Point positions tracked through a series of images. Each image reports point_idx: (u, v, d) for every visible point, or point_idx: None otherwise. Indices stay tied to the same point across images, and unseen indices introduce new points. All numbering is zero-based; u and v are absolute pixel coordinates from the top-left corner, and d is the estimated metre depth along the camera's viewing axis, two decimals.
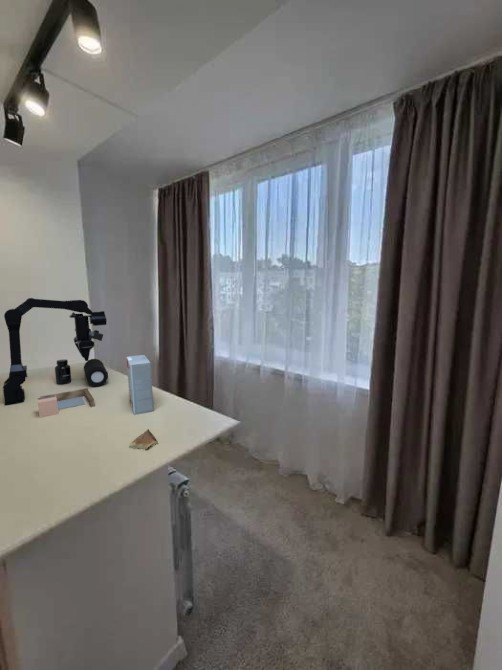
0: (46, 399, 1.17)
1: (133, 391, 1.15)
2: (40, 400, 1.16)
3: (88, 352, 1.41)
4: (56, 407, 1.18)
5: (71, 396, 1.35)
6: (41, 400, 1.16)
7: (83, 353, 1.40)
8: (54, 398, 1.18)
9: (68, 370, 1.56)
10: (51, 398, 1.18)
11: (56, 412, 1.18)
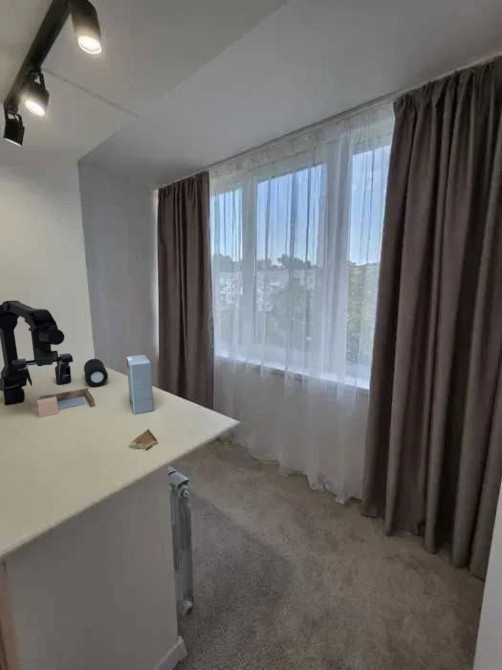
0: (46, 399, 1.17)
1: (133, 391, 1.15)
2: (40, 400, 1.16)
3: None
4: (56, 407, 1.17)
5: (71, 396, 1.35)
6: (41, 400, 1.16)
7: None
8: (54, 398, 1.18)
9: (68, 370, 1.56)
10: (51, 398, 1.18)
11: (56, 412, 1.18)
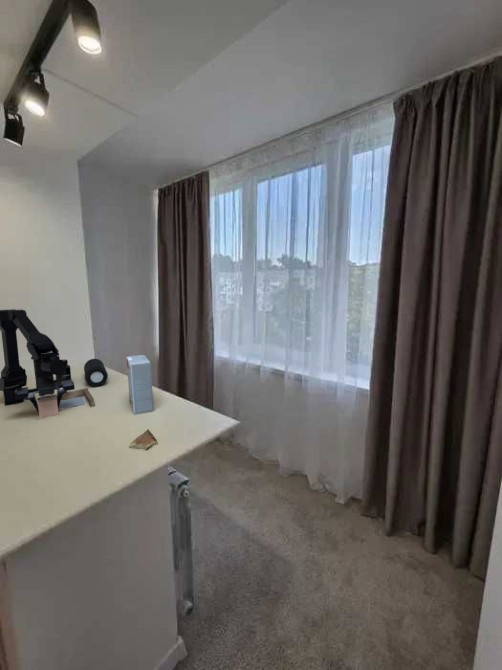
0: (46, 399, 1.17)
1: (133, 391, 1.15)
2: (40, 400, 1.16)
3: None
4: (56, 407, 1.17)
5: (71, 396, 1.35)
6: (41, 400, 1.16)
7: None
8: (54, 398, 1.18)
9: (68, 370, 1.56)
10: (51, 398, 1.18)
11: (56, 412, 1.18)
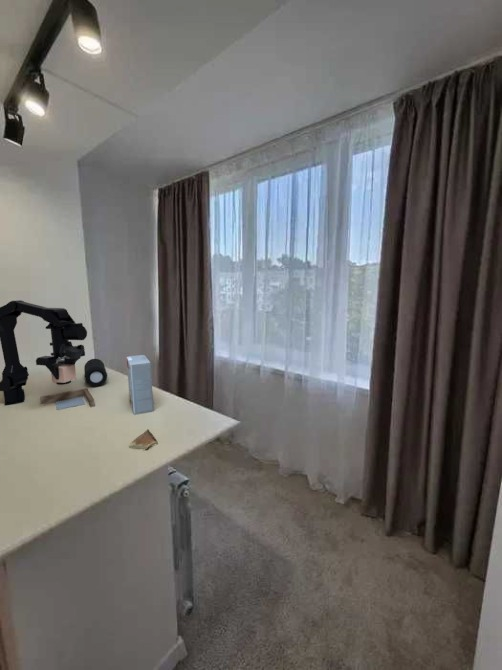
0: (63, 366, 1.25)
1: (133, 391, 1.15)
2: (59, 367, 1.23)
3: (55, 370, 1.20)
4: (74, 372, 1.27)
5: (71, 396, 1.35)
6: (62, 367, 1.23)
7: (51, 370, 1.21)
8: (69, 364, 1.27)
9: None
10: (66, 365, 1.26)
11: (75, 376, 1.27)
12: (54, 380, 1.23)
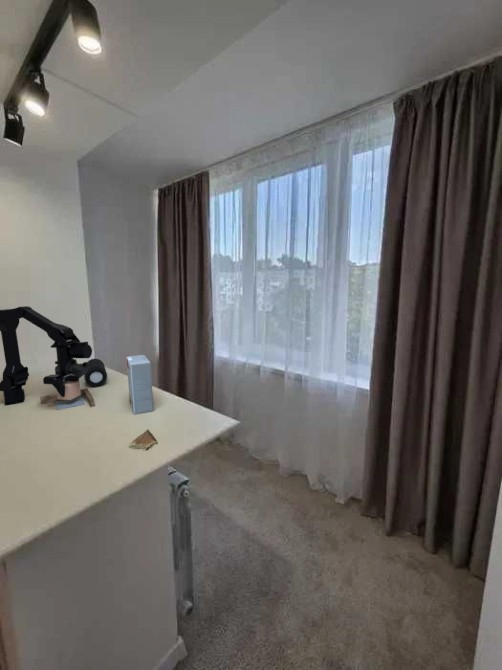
0: (68, 383, 1.27)
1: (133, 391, 1.15)
2: (65, 384, 1.26)
3: (61, 388, 1.23)
4: (79, 388, 1.30)
5: None
6: (67, 384, 1.26)
7: (57, 388, 1.24)
8: (74, 381, 1.30)
9: None
10: (71, 382, 1.29)
11: (79, 393, 1.30)
12: (60, 397, 1.26)
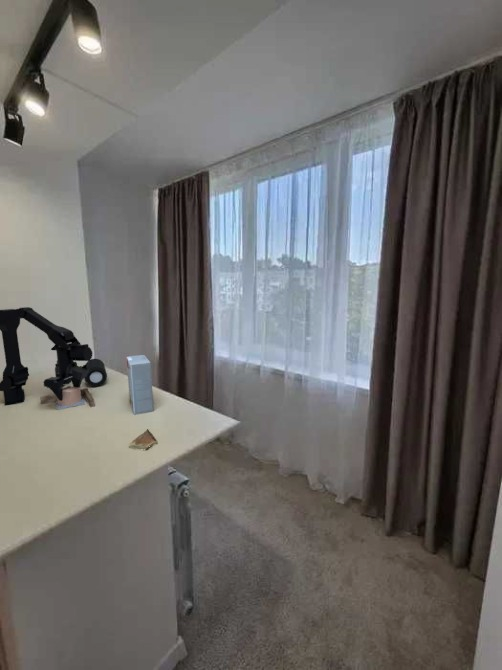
0: (69, 389, 1.28)
1: (133, 391, 1.15)
2: (65, 390, 1.26)
3: (59, 392, 1.22)
4: (80, 394, 1.31)
5: None
6: (68, 390, 1.26)
7: (54, 392, 1.22)
8: (75, 387, 1.30)
9: None
10: (72, 388, 1.29)
11: (80, 399, 1.31)
12: (60, 403, 1.26)
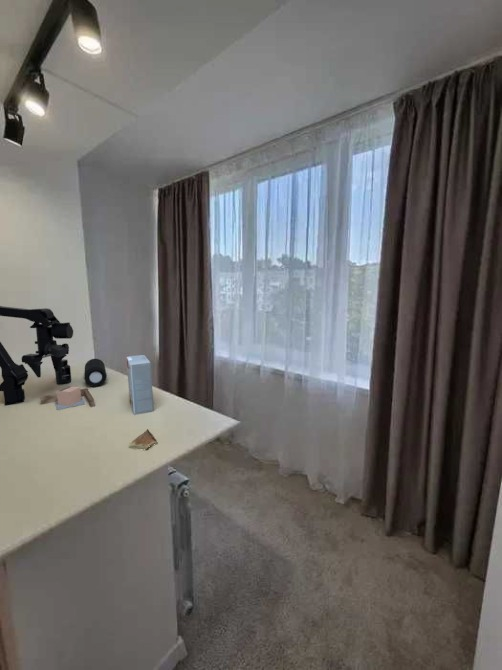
0: (69, 389, 1.28)
1: (133, 391, 1.15)
2: (65, 390, 1.26)
3: (37, 368, 1.25)
4: (80, 394, 1.31)
5: None
6: (68, 390, 1.26)
7: (32, 368, 1.25)
8: (75, 387, 1.30)
9: (68, 370, 1.56)
10: (72, 388, 1.29)
11: (80, 399, 1.31)
12: (60, 403, 1.26)
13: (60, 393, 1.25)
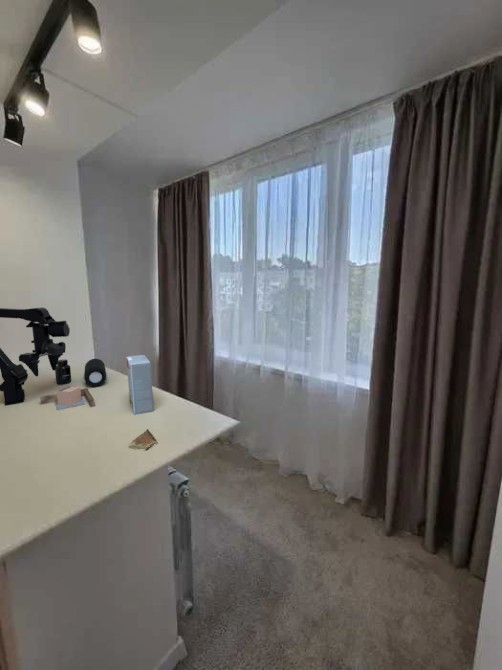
0: (69, 389, 1.28)
1: (133, 391, 1.15)
2: (65, 390, 1.26)
3: (34, 367, 1.25)
4: (80, 394, 1.31)
5: None
6: (68, 390, 1.26)
7: (30, 367, 1.26)
8: (75, 387, 1.30)
9: (68, 370, 1.56)
10: (72, 388, 1.29)
11: (80, 399, 1.31)
12: (60, 403, 1.26)
13: (60, 393, 1.25)
